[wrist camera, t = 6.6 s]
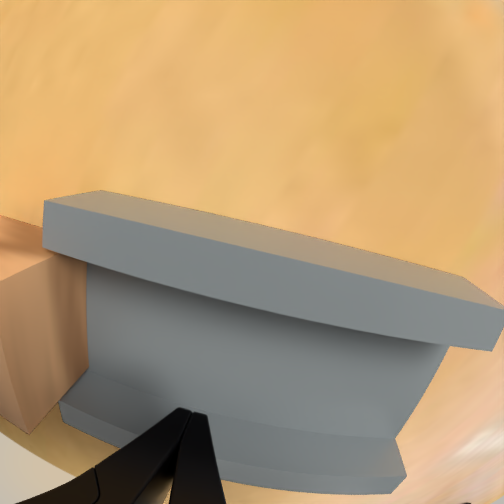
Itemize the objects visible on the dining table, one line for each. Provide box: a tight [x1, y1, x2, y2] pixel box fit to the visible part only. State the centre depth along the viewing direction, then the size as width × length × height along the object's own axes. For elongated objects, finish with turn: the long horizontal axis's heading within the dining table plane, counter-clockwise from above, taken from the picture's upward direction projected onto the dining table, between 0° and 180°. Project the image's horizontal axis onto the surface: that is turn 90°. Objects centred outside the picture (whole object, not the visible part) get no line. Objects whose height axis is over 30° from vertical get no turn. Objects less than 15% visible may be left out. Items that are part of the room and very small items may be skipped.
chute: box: [42, 190, 504, 495], centre depth 11 cm, size 15×10×4 cm, turn 78°
